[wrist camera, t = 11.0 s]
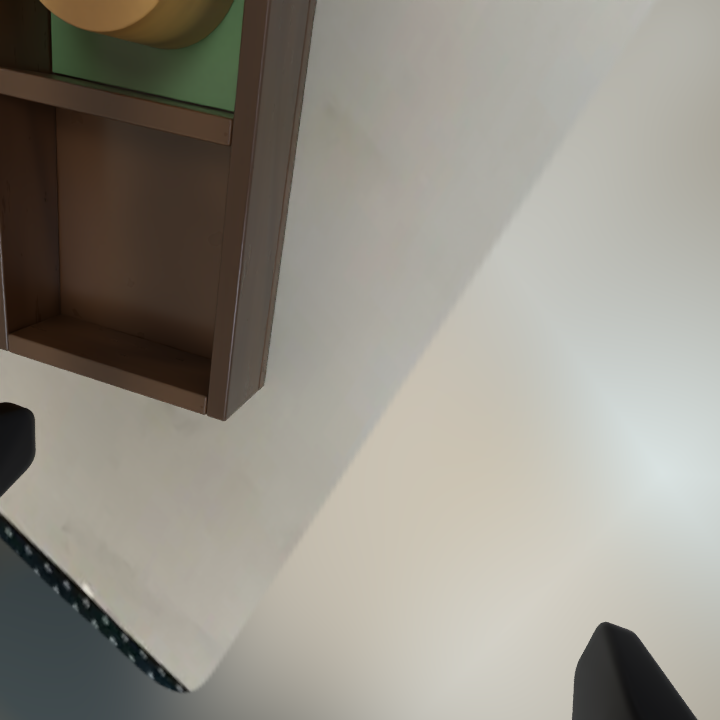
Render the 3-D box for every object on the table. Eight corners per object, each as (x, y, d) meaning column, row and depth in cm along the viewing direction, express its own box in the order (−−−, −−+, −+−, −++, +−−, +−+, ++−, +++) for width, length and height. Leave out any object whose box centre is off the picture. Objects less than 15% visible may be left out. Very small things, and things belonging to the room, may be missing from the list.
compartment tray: (348, -230, 14) (304, -319, 11) (264, 385, 21) (225, 422, 18) (-196, -284, 17) (-334, -366, 14) (-112, 270, 24) (-195, 286, 21)
